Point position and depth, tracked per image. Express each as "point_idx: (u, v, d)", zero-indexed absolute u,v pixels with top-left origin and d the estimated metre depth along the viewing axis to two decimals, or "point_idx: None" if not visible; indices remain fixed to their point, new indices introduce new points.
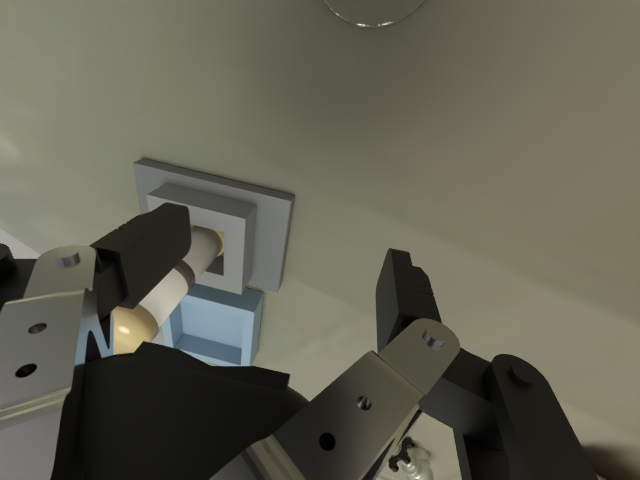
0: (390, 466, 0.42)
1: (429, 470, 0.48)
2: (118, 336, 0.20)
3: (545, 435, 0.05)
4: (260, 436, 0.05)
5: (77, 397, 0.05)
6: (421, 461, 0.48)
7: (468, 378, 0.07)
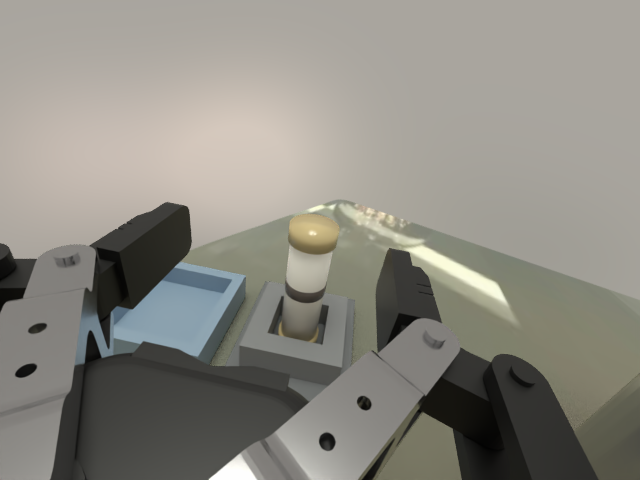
0: None
1: None
2: (314, 226, 0.25)
3: (545, 435, 0.05)
4: (260, 436, 0.05)
5: (77, 397, 0.05)
6: None
7: (468, 378, 0.07)
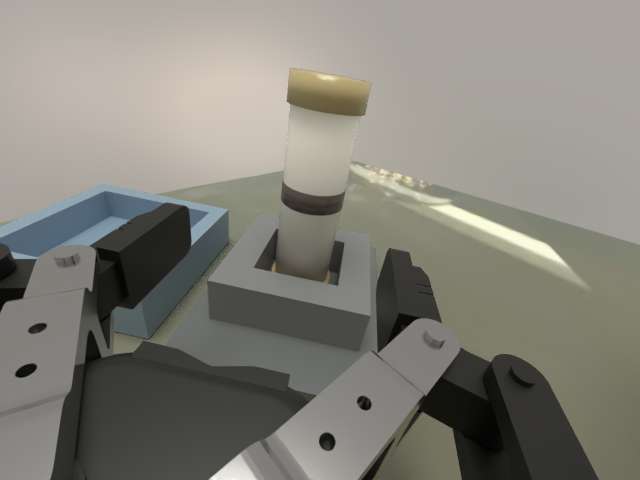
0: None
1: None
2: (331, 75, 0.15)
3: (545, 435, 0.05)
4: (260, 436, 0.05)
5: (77, 397, 0.05)
6: None
7: (468, 378, 0.07)
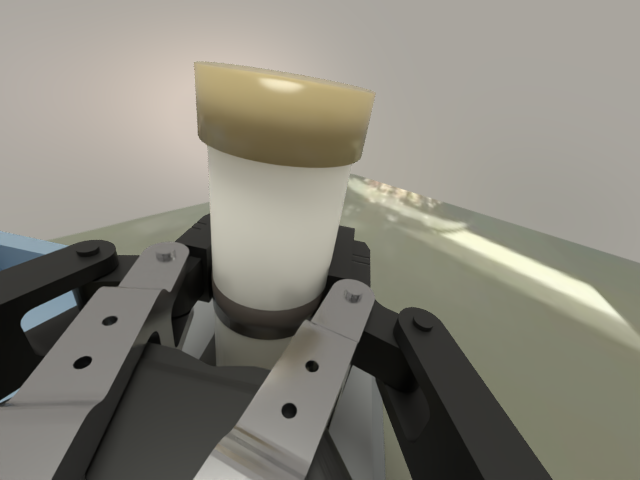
0: None
1: None
2: (288, 77, 0.07)
3: (448, 368, 0.06)
4: None
5: (112, 404, 0.05)
6: None
7: (380, 327, 0.08)
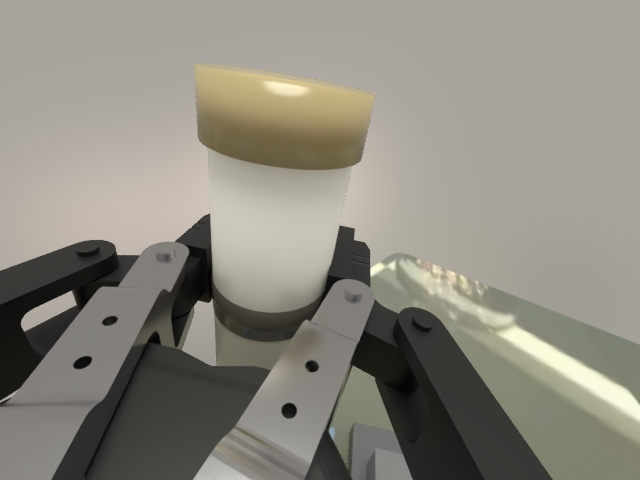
0: None
1: None
2: (288, 79, 0.07)
3: (448, 368, 0.06)
4: None
5: (111, 405, 0.05)
6: None
7: (380, 327, 0.08)
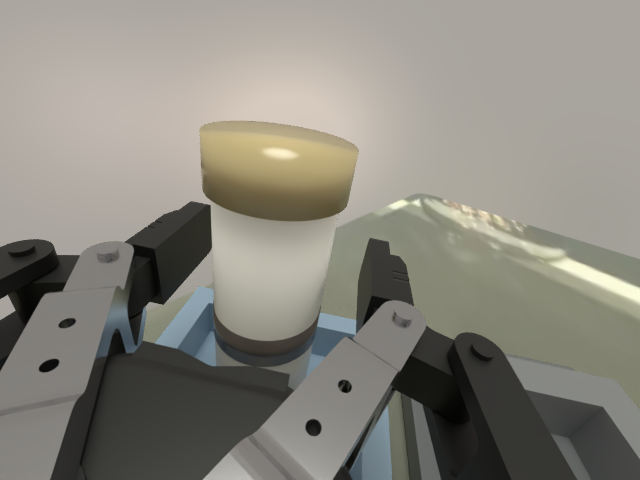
0: None
1: None
2: (281, 138, 0.08)
3: (505, 404, 0.06)
4: None
5: (91, 398, 0.05)
6: None
7: (433, 354, 0.07)
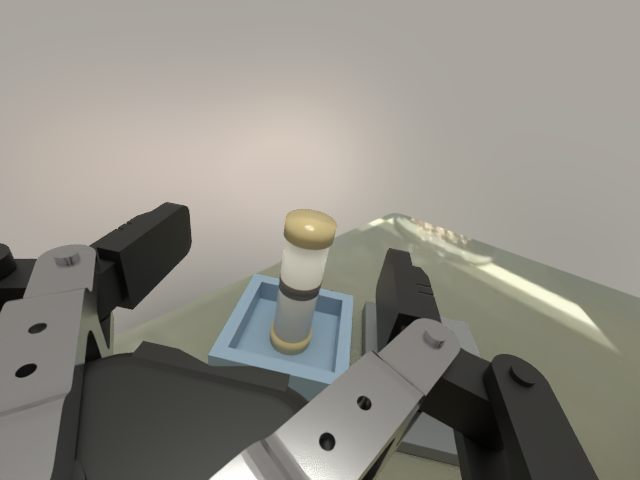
0: None
1: None
2: (311, 221, 0.24)
3: (545, 435, 0.05)
4: (260, 436, 0.05)
5: (77, 397, 0.05)
6: None
7: (468, 378, 0.07)
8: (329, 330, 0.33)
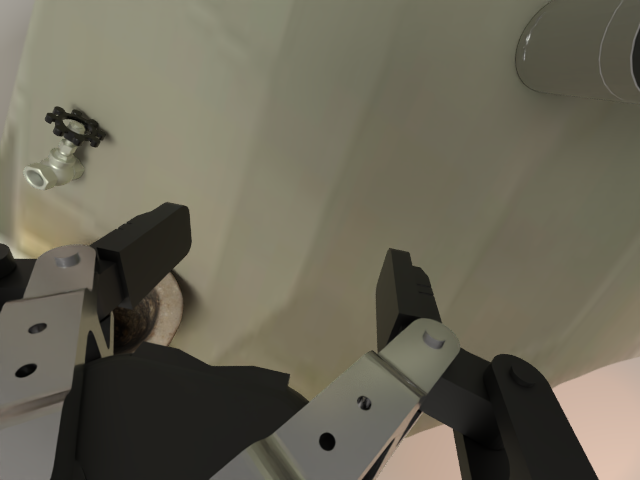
0: (57, 126, 0.39)
1: (69, 177, 0.46)
2: None
3: (545, 435, 0.05)
4: (260, 436, 0.05)
5: (77, 397, 0.05)
6: (71, 168, 0.46)
7: (468, 378, 0.07)
8: None
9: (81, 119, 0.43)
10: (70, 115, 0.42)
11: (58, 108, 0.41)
